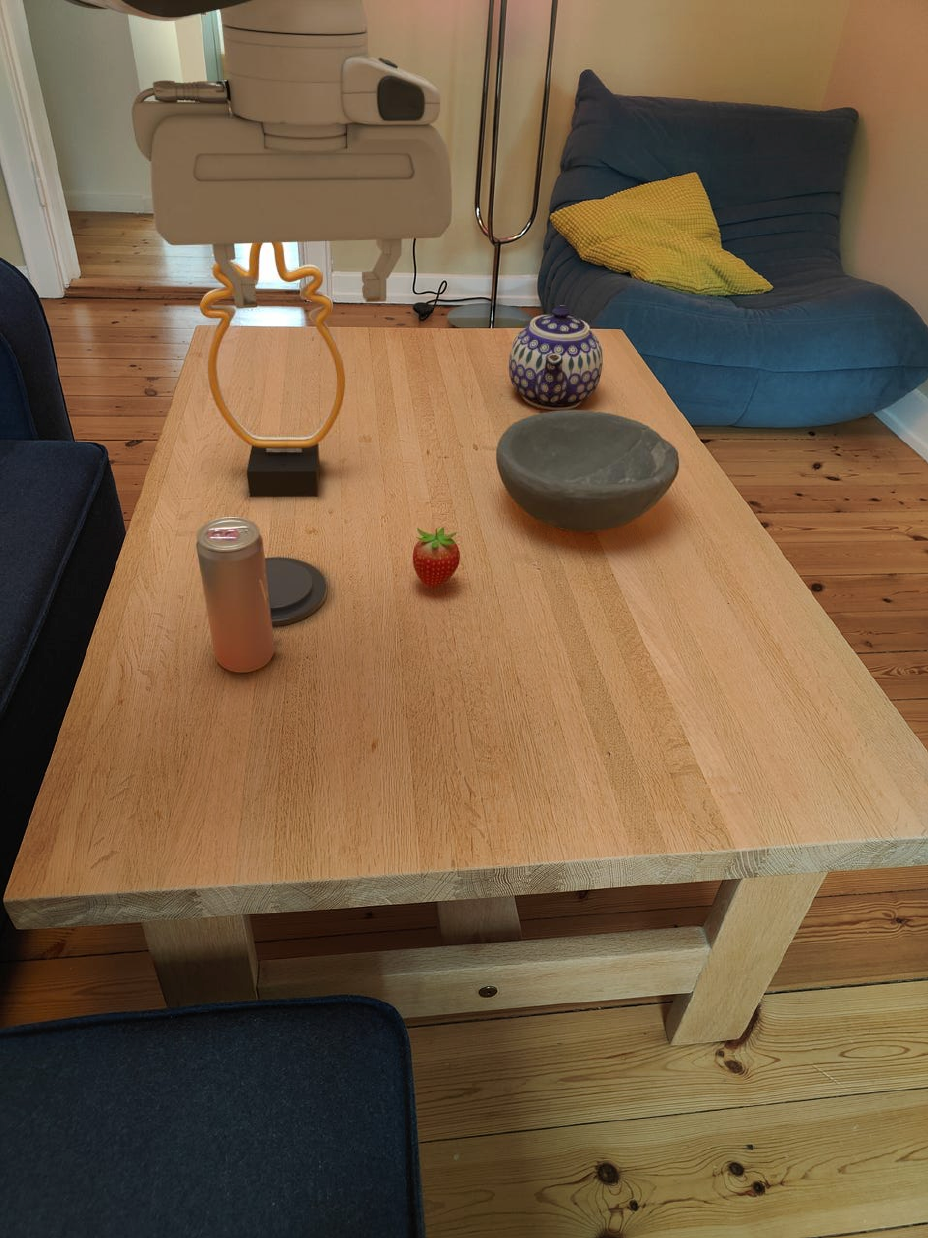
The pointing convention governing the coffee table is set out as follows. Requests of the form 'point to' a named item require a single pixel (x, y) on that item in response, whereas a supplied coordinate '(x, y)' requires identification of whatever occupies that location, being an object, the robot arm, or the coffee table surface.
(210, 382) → the lamp
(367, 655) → the coffee table surface
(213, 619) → the beverage can
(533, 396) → the teapot
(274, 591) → the saucer
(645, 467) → the bowl
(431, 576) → the fruit
